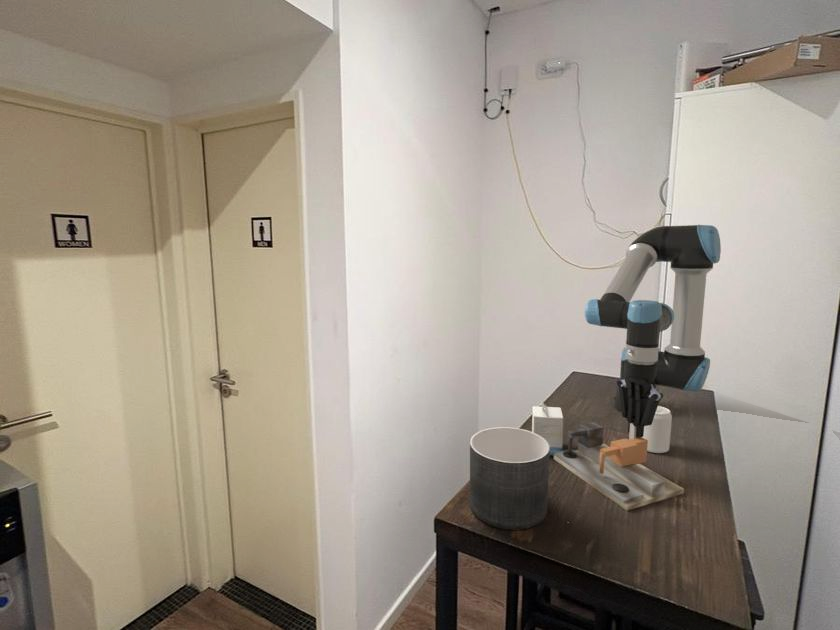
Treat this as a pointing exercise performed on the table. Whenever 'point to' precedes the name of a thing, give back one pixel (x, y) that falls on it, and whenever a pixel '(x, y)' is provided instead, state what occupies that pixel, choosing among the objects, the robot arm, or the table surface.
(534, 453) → the planter
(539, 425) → the ink box
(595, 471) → the board
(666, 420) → the beverage can
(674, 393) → the table surface
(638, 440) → the block
